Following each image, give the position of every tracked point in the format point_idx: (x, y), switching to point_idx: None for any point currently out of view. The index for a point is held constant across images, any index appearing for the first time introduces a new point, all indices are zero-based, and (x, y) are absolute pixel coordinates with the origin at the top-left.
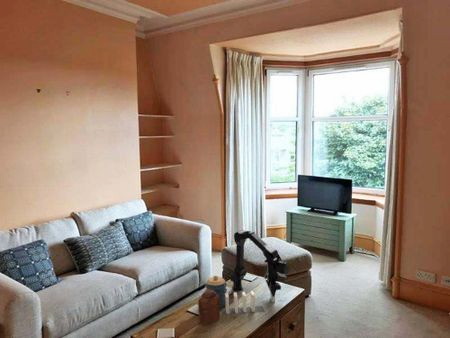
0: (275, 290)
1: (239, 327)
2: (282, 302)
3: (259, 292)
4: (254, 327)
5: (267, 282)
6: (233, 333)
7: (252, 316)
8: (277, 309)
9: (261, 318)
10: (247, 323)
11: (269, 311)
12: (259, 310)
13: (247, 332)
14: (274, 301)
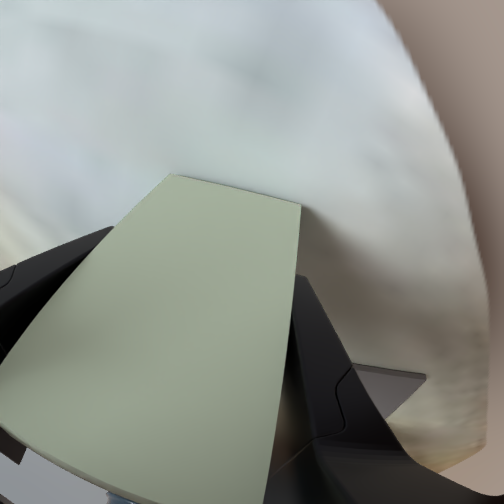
0: (370, 435)
1: (428, 464)
2: (352, 86)
3: (30, 247)
4: (481, 434)
5: (15, 448)
6: (439, 472)
7: (400, 431)
8: (471, 265)
9: (459, 405)
10: (433, 448)
11: (440, 344)
12: (378, 401)
13: (477, 450)
14: (298, 214)
